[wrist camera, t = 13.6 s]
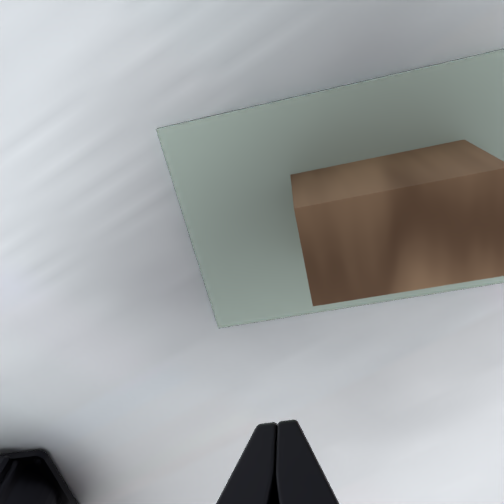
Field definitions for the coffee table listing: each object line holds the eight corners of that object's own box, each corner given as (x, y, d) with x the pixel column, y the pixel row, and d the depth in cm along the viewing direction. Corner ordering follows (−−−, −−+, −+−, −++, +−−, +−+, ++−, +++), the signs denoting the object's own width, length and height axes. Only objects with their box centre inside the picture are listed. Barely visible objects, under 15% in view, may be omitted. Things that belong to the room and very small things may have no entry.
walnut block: (306, 258, 20) (465, 229, 19) (312, 306, 17) (509, 275, 16) (290, 174, 19) (464, 139, 18) (294, 208, 15) (512, 166, 14)
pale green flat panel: (510, 277, 21) (513, 281, 20) (219, 324, 22) (218, 328, 22) (517, 45, 16) (521, 45, 16) (158, 128, 18) (156, 129, 18)
